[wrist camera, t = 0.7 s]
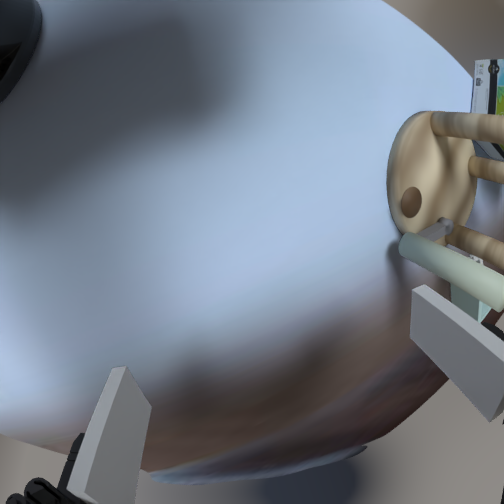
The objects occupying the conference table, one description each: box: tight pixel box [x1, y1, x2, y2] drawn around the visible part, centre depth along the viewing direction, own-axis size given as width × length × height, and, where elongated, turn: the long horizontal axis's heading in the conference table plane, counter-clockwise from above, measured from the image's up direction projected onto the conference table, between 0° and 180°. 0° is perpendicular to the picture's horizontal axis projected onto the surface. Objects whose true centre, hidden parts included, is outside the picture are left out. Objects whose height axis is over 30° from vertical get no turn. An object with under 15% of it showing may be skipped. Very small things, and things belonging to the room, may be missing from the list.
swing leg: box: [399, 217, 504, 312], centre depth 24 cm, size 10×3×14 cm, turn 107°
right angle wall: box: [450, 254, 491, 323], centre depth 38 cm, size 12×12×8 cm
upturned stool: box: [387, 111, 504, 270], centre depth 24 cm, size 18×18×16 cm
